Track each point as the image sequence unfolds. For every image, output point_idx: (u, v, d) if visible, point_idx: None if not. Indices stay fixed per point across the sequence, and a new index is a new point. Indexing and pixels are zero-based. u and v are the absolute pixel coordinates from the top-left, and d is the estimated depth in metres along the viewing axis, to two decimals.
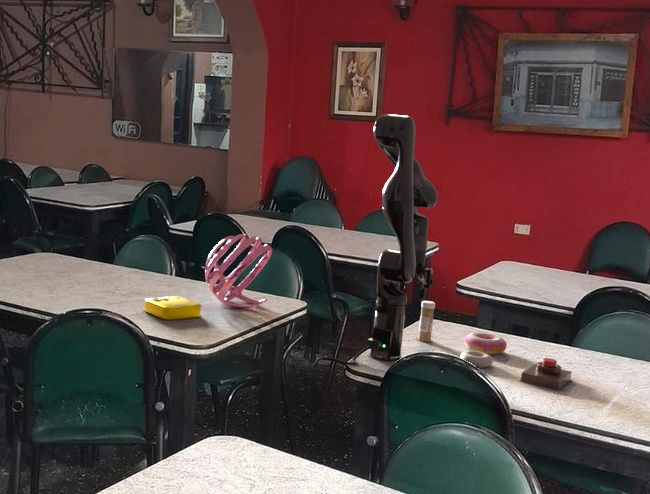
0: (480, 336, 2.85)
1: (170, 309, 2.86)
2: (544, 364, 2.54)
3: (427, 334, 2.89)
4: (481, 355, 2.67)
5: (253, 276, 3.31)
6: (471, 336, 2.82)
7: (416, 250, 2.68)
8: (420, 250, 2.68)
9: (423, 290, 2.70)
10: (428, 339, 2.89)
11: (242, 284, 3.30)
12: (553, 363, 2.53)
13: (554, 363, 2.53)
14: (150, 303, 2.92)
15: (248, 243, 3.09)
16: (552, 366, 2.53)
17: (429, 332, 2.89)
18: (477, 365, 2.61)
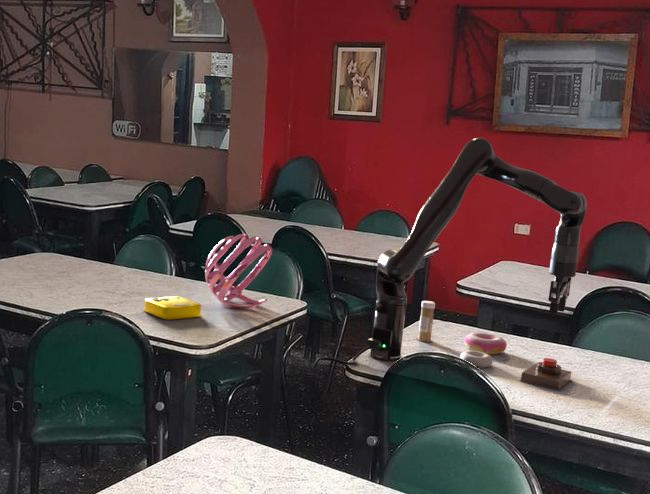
0: (480, 336, 2.85)
1: (170, 309, 2.86)
2: (544, 364, 2.54)
3: (427, 334, 2.89)
4: (481, 355, 2.67)
5: (253, 276, 3.31)
6: (471, 336, 2.82)
7: (551, 259, 2.50)
8: (553, 260, 2.49)
9: (551, 304, 2.49)
10: (428, 339, 2.89)
11: (242, 284, 3.30)
12: (553, 363, 2.53)
13: (554, 363, 2.53)
14: (150, 303, 2.92)
15: (248, 243, 3.09)
16: (552, 366, 2.53)
17: (429, 332, 2.89)
18: (477, 365, 2.61)
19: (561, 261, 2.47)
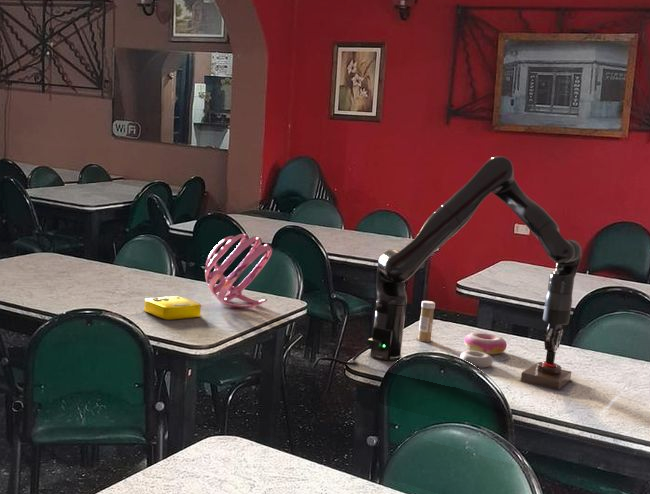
0: (480, 336, 2.85)
1: (170, 309, 2.86)
2: None
3: (427, 334, 2.89)
4: (481, 355, 2.67)
5: (253, 276, 3.31)
6: (471, 336, 2.82)
7: (545, 306, 2.52)
8: (547, 307, 2.51)
9: (548, 352, 2.54)
10: (428, 339, 2.89)
11: (242, 284, 3.30)
12: (553, 366, 2.53)
13: (554, 366, 2.54)
14: (150, 303, 2.92)
15: (248, 243, 3.09)
16: None
17: (429, 332, 2.89)
18: (477, 365, 2.61)
19: (555, 309, 2.49)
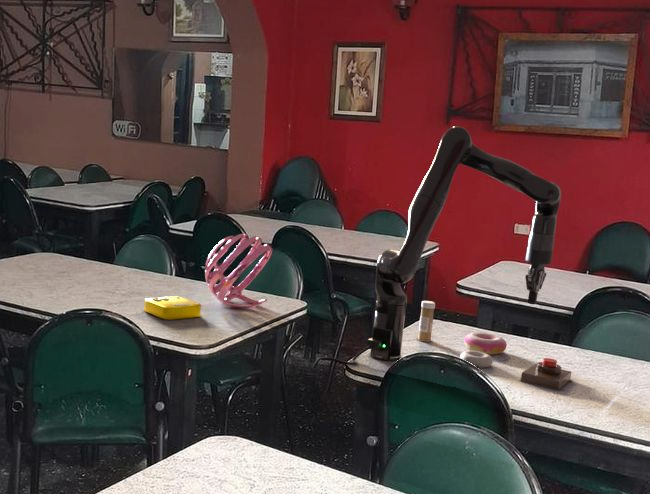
0: (480, 336, 2.85)
1: (170, 309, 2.86)
2: (544, 364, 2.54)
3: (427, 334, 2.89)
4: (481, 355, 2.67)
5: (253, 276, 3.31)
6: (471, 336, 2.82)
7: (527, 247, 2.58)
8: (530, 248, 2.57)
9: (530, 293, 2.60)
10: (428, 339, 2.89)
11: (242, 284, 3.30)
12: (553, 363, 2.53)
13: (554, 363, 2.53)
14: (150, 303, 2.92)
15: (248, 243, 3.09)
16: (552, 366, 2.53)
17: (429, 332, 2.89)
18: (477, 365, 2.61)
19: (536, 249, 2.55)
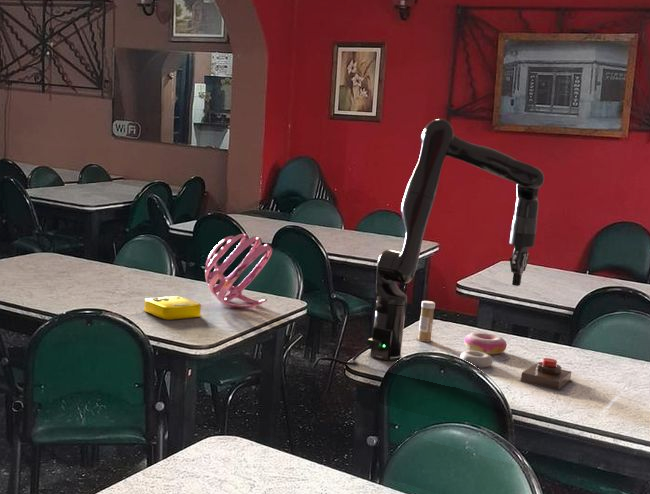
0: (480, 336, 2.85)
1: (170, 309, 2.86)
2: (544, 364, 2.54)
3: (427, 334, 2.89)
4: (481, 355, 2.67)
5: (253, 276, 3.31)
6: (471, 336, 2.82)
7: (511, 231, 2.65)
8: (513, 231, 2.64)
9: (514, 275, 2.67)
10: (428, 339, 2.89)
11: (242, 284, 3.30)
12: (553, 363, 2.53)
13: (554, 363, 2.53)
14: (150, 303, 2.92)
15: (248, 243, 3.09)
16: (552, 366, 2.53)
17: (429, 332, 2.89)
18: (477, 365, 2.61)
19: (520, 232, 2.62)
